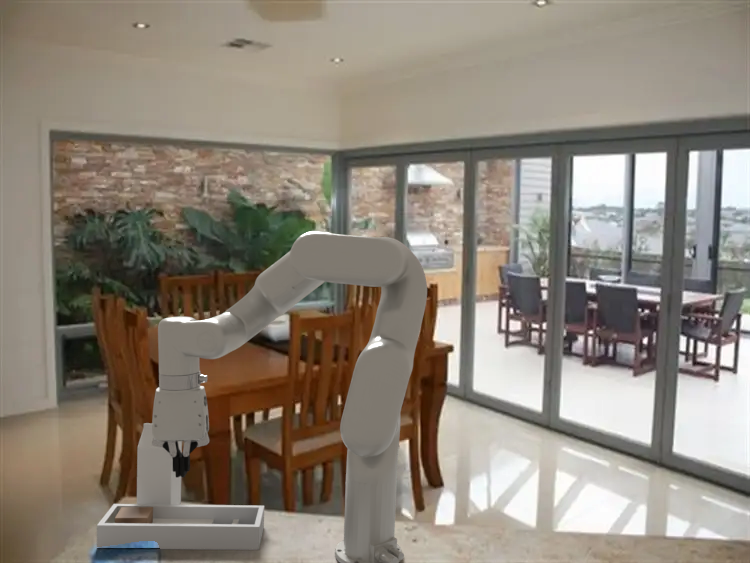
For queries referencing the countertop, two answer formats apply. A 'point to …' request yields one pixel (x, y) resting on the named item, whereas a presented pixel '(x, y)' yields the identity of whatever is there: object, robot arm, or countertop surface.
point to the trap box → (188, 527)
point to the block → (135, 515)
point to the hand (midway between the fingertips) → (181, 474)
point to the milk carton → (156, 473)
